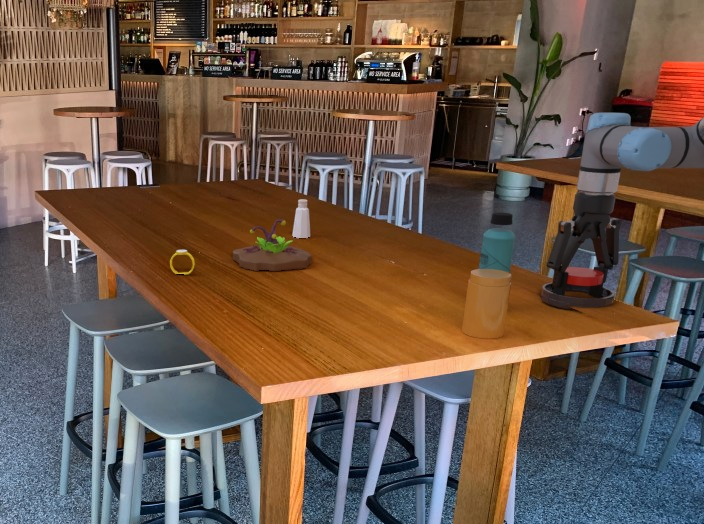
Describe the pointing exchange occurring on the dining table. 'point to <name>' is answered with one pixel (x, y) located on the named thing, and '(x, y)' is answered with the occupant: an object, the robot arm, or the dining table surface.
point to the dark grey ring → (562, 300)
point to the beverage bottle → (498, 244)
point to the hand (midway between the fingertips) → (576, 299)
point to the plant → (272, 253)
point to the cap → (584, 276)
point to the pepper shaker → (301, 220)
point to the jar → (486, 303)
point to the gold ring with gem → (182, 252)
